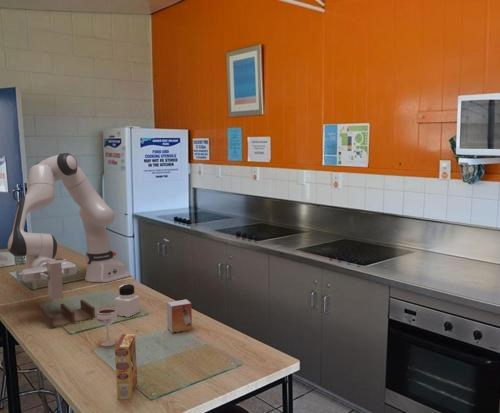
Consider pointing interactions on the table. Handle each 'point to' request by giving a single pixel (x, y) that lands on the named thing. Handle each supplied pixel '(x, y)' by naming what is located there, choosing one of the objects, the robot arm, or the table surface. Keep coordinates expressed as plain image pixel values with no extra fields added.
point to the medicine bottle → (127, 301)
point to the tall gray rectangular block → (55, 279)
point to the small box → (179, 316)
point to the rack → (68, 315)
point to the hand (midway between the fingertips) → (55, 276)
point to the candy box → (126, 366)
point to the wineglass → (107, 321)
